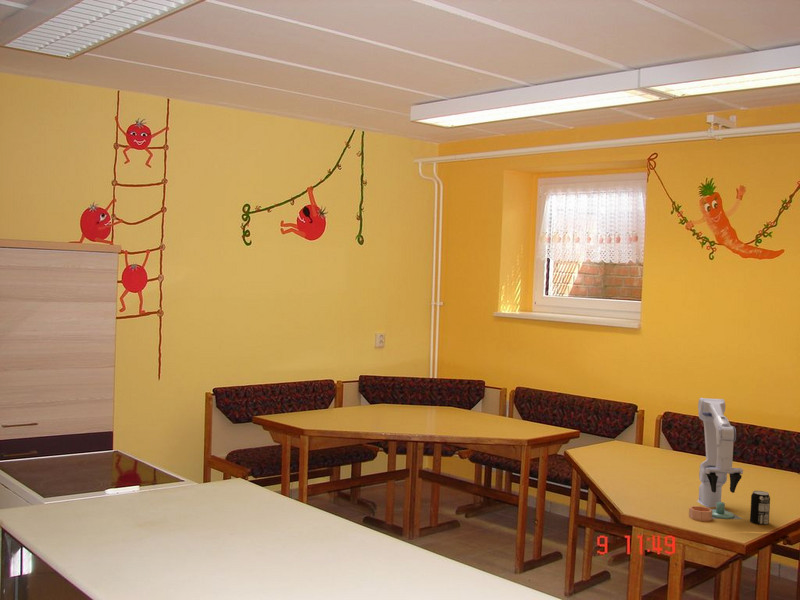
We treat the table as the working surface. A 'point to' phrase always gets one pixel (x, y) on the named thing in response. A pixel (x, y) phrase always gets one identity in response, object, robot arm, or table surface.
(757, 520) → the beverage can
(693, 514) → the bowl
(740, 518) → the mat
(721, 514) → the lid
